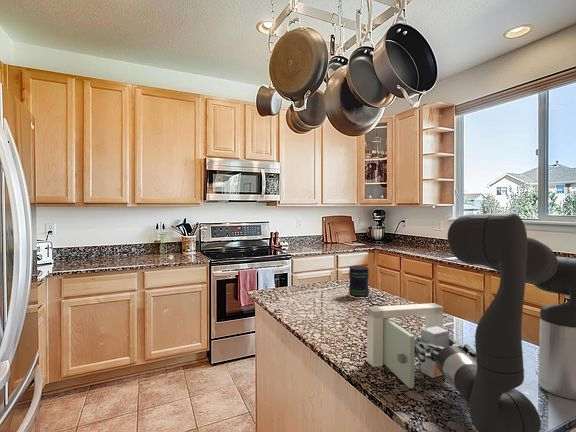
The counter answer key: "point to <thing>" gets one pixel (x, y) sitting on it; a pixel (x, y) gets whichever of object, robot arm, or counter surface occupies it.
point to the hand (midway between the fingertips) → (433, 341)
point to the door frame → (378, 313)
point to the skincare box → (436, 338)
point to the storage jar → (358, 281)
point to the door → (399, 351)
